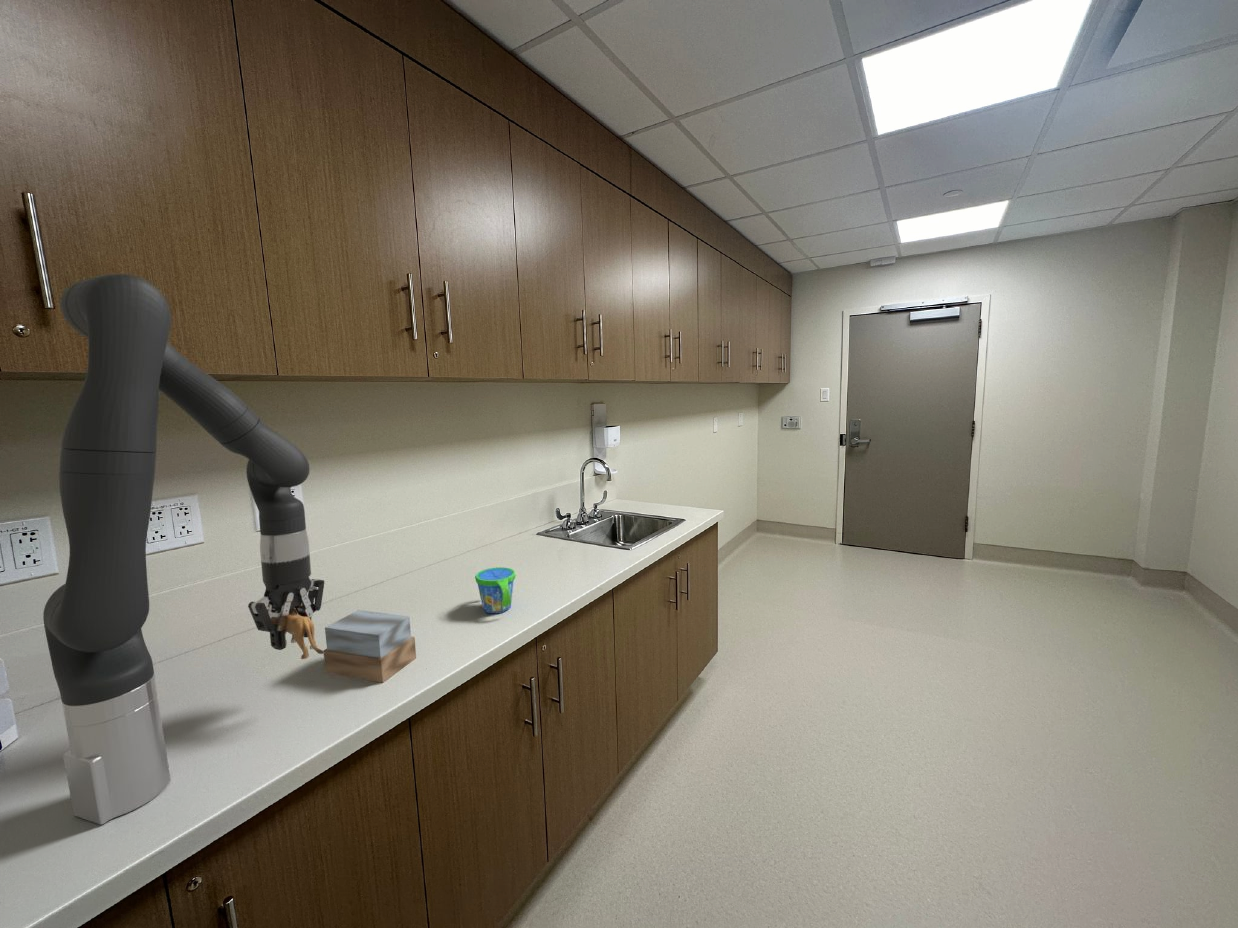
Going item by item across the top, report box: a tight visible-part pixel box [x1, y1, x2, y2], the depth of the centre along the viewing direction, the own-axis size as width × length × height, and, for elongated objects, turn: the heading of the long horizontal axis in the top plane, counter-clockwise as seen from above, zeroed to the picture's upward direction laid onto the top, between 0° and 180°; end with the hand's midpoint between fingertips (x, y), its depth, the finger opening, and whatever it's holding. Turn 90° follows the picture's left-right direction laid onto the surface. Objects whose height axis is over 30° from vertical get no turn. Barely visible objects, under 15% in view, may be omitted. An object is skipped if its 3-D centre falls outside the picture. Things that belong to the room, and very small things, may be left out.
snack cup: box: [474, 566, 517, 614], centre depth 134 cm, size 16×10×10 cm
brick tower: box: [323, 609, 417, 684], centre depth 106 cm, size 10×15×10 cm, turn 73°
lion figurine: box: [267, 603, 324, 660], centre depth 92 cm, size 15×5×9 cm, turn 68°
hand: (292, 641), depth 93 cm, fingers closed on lion figurine, 4 cm apart
